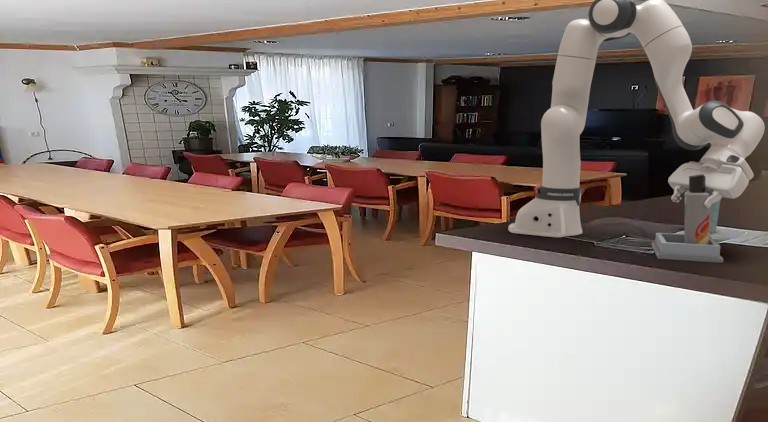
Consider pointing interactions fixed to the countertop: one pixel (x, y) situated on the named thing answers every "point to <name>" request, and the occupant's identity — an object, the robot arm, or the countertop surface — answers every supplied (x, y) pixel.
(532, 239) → the countertop surface
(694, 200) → the lotion bottle
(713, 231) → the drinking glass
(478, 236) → the countertop surface
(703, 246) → the shallow soap dish
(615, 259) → the countertop surface
